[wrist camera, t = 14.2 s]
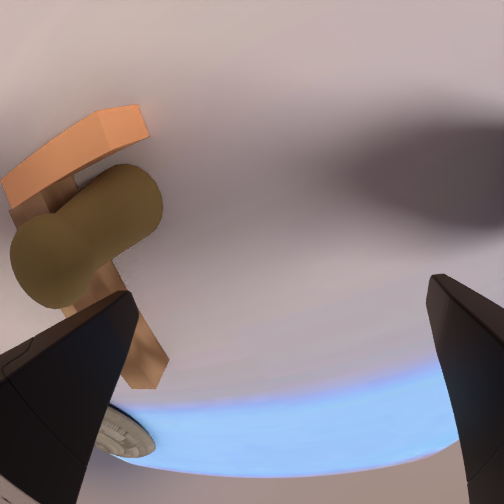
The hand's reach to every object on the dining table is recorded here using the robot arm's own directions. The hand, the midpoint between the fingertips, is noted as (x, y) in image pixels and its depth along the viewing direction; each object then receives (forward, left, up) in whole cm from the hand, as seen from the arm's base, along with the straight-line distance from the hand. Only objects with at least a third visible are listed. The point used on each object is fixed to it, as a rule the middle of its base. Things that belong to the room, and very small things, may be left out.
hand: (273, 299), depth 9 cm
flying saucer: (+6, +44, -14) cm, 46 cm away
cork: (+10, +7, -13) cm, 18 cm away
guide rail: (+10, +14, -13) cm, 21 cm away
